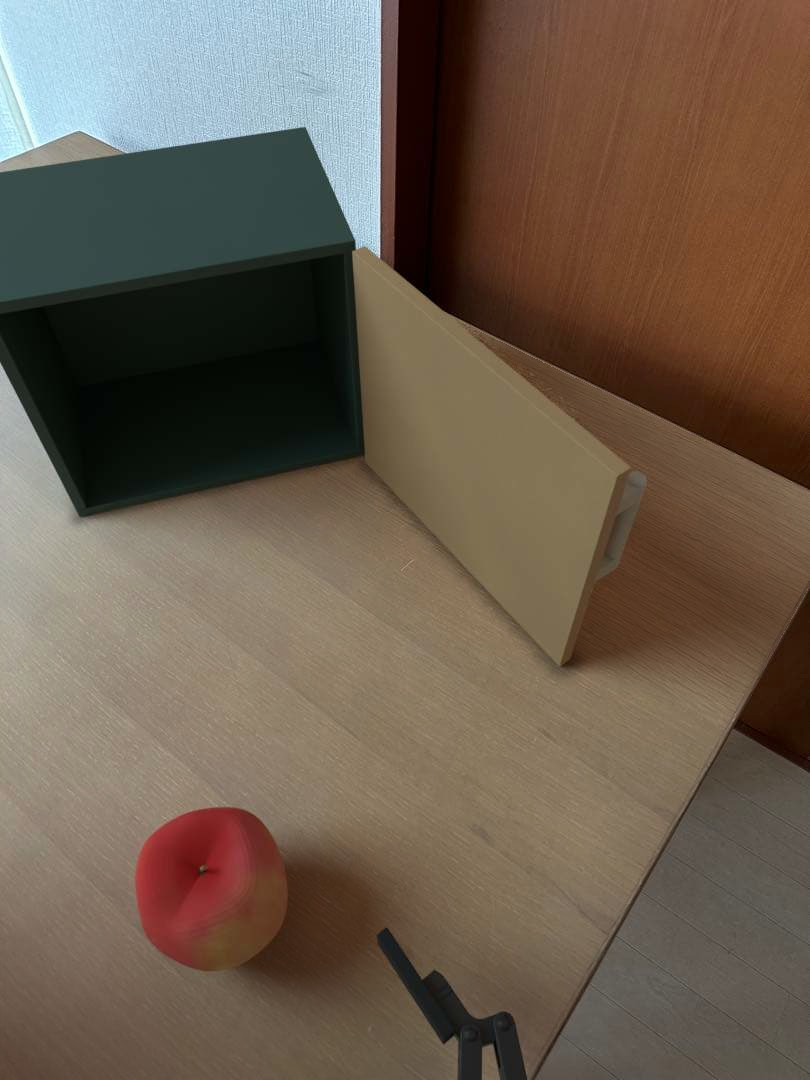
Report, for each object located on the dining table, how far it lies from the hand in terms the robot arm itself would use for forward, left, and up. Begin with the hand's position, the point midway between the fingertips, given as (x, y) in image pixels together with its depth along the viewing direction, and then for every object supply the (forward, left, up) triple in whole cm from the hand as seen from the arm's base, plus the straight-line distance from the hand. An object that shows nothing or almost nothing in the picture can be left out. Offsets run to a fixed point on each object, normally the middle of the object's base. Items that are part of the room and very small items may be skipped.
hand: (283, 1011), depth 47 cm
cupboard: (+3, +55, -7) cm, 56 cm away
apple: (-3, +8, -7) cm, 12 cm away
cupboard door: (+24, +34, -7) cm, 42 cm away
